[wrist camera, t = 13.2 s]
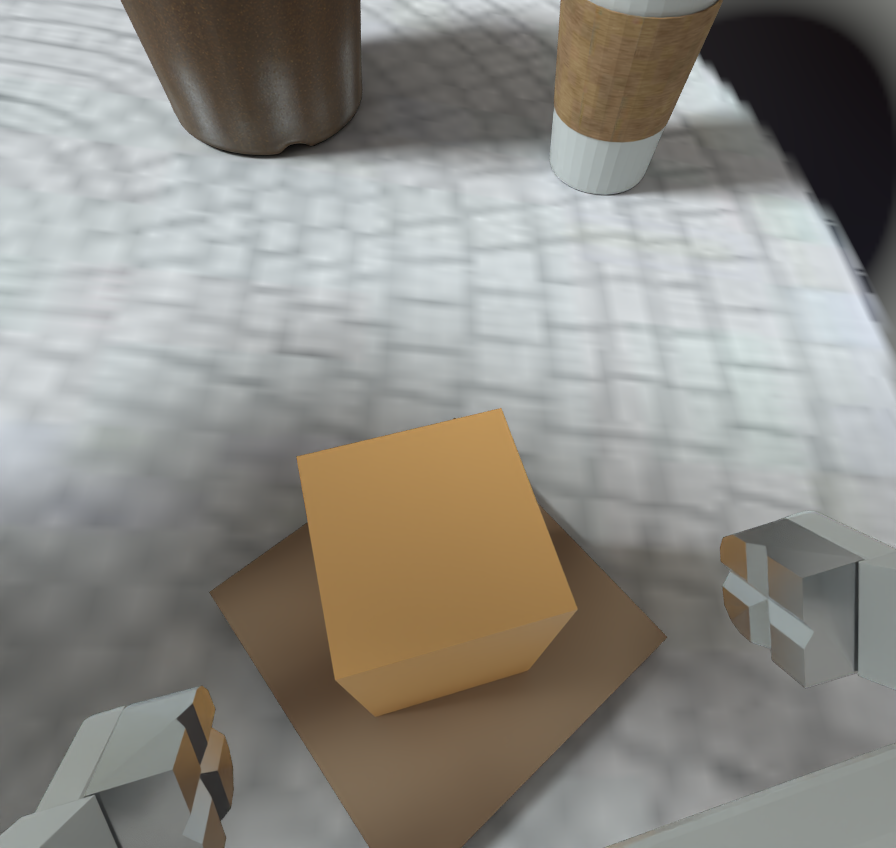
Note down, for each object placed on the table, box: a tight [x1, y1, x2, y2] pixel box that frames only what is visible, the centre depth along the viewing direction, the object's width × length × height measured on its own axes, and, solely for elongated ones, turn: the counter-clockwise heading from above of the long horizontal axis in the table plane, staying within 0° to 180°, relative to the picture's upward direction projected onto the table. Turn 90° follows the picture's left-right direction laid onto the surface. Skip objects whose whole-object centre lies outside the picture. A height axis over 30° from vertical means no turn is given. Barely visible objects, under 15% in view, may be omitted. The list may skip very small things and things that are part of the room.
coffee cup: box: [550, 0, 723, 195], centre depth 31 cm, size 8×8×15 cm
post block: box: [209, 418, 667, 848], centre depth 21 cm, size 12×12×6 cm
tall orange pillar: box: [296, 408, 578, 717], centre depth 18 cm, size 6×6×9 cm
